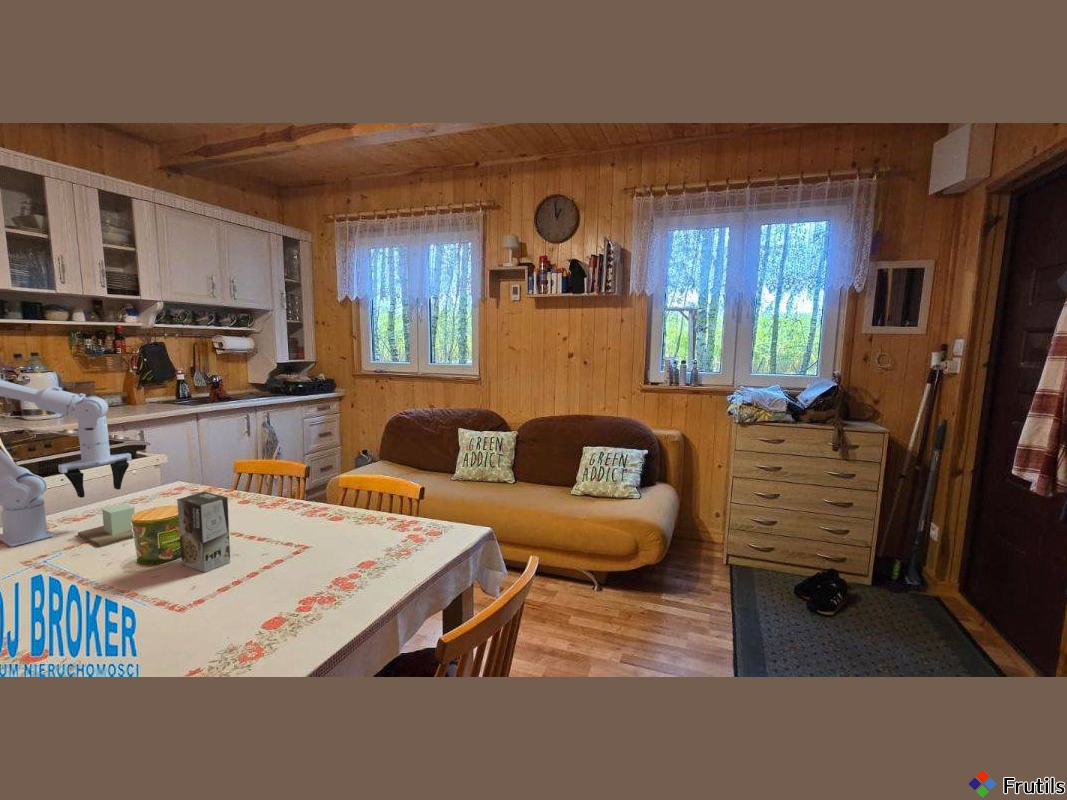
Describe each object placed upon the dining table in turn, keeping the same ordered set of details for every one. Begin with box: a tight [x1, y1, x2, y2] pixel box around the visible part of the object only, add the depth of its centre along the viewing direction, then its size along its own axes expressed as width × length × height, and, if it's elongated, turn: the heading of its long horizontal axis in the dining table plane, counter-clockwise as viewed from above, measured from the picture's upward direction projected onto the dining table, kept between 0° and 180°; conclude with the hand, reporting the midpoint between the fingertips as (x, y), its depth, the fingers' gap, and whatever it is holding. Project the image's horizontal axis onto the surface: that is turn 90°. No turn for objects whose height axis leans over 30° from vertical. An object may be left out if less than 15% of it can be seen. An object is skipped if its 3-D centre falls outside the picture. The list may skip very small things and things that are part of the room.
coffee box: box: [176, 491, 231, 573], centre depth 113 cm, size 9×6×16 cm
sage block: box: [101, 503, 136, 535], centre depth 128 cm, size 5×5×6 cm
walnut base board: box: [77, 525, 134, 548], centre depth 128 cm, size 13×13×1 cm
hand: (99, 492), depth 129 cm, fingers open, 7 cm apart
